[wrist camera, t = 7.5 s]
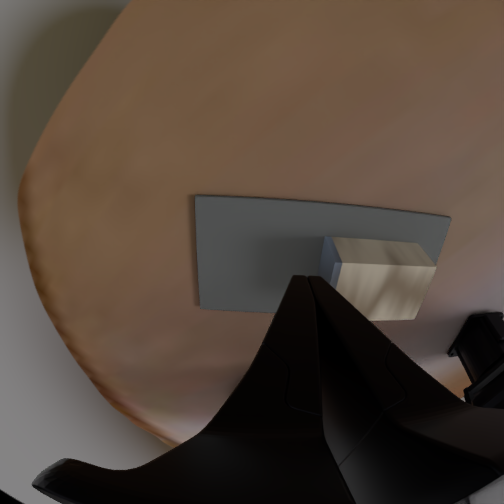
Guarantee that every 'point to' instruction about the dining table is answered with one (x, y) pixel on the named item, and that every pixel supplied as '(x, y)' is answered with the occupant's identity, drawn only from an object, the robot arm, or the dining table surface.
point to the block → (378, 275)
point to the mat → (287, 243)
